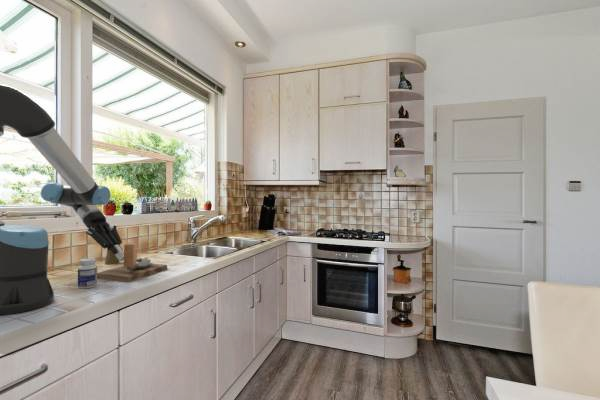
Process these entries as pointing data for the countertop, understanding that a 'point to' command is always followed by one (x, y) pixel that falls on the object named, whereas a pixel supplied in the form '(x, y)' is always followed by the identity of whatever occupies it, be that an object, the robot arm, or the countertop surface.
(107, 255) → the olive flared column
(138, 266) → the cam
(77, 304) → the countertop surface
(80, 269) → the pill bottle
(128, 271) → the wooden board
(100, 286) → the countertop surface
